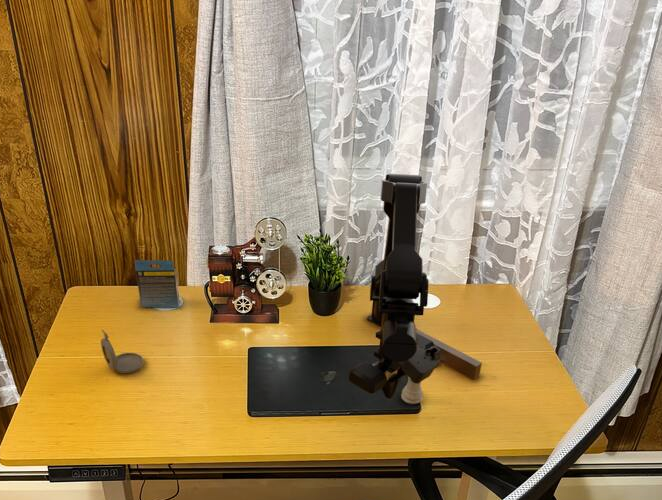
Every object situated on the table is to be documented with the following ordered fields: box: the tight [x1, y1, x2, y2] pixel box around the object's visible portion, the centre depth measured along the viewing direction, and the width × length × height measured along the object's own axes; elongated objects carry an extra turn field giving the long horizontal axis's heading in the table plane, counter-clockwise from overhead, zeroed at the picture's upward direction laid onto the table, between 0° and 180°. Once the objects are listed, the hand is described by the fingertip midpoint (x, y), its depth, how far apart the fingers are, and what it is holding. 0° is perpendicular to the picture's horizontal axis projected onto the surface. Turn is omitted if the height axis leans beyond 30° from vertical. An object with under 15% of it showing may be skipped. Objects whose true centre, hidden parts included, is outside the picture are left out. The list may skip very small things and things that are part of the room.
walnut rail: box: [416, 328, 483, 380], centre depth 163 cm, size 20×2×4 cm, turn 45°
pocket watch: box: [100, 328, 144, 374], centre depth 156 cm, size 8×8×10 cm
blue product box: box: [133, 259, 180, 309], centre depth 174 cm, size 9×4×12 cm, turn 93°
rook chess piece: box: [400, 376, 424, 405], centre depth 151 cm, size 4×4×8 cm
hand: (388, 397), depth 146 cm, fingers closed
